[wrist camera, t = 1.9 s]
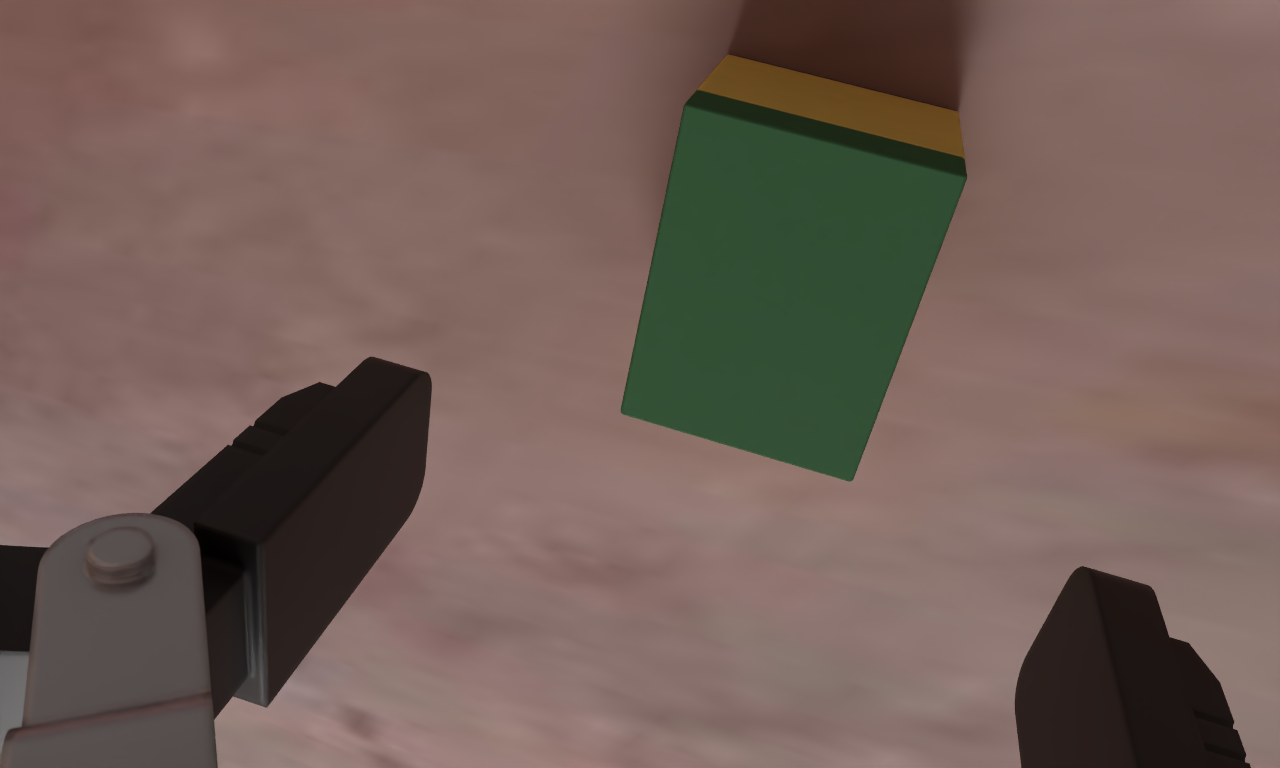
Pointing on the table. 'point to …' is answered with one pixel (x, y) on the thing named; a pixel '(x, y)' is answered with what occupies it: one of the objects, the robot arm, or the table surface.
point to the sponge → (791, 261)
